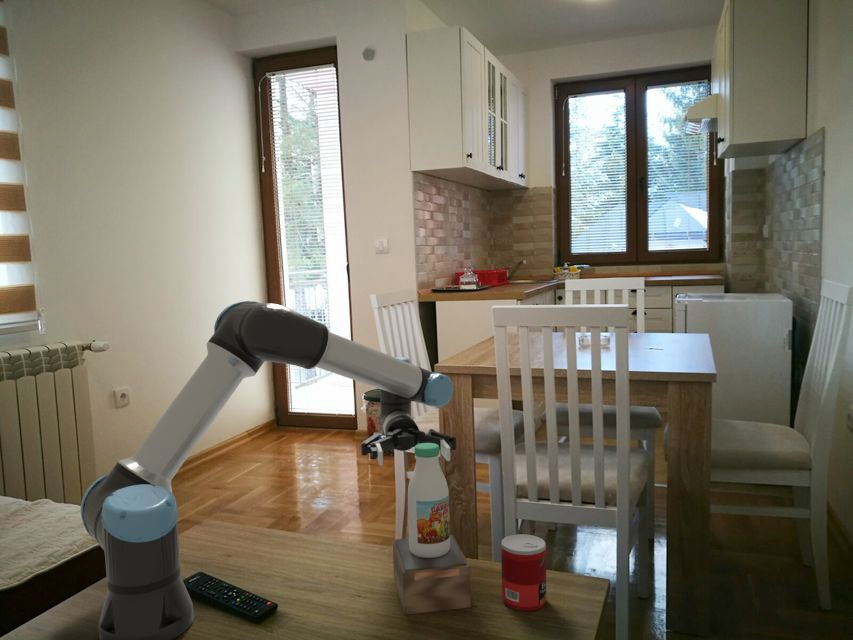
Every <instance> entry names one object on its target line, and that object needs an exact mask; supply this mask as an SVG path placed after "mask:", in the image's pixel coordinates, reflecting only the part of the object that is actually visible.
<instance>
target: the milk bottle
mask: <svg viewBox="0 0 853 640" xmlns="http://www.w3.org/2000/svg"><path fill="white" fill-rule="evenodd" d="M440 453H441V450H439V445H437V444H434V443H421V444H419V443H418V445H416V446H415V447H414V459H415V466H414V470H413V471H412V474H411V476H410V479H409V481H408V487H407V525H408V526H407V528H408V532H407V533H408V538H409V550H410V552H411V553H412V554H413V555H415V556H417V557H421V558H436V557H440V556H443V555H445V554H447V553H448V551H449V549H450V534H451V526H450V525H451V524H450V522H451V521H450V520H451V519H450V496H449V495H450V494H449V487H448V486H449V485H448V482H447V479H446V477H445V475H444V473H443V471H442V468H441V465H440V461H439V458H440V456H441V455H440Z"/></svg>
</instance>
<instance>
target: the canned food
mask: <svg viewBox="0 0 853 640" xmlns="http://www.w3.org/2000/svg"><path fill="white" fill-rule="evenodd" d="M546 545H547V544H546V542H545V540H544V539H542V538H541V537H539V536H536V535H532V534H524V533H523V534H521V533H520V534H512V535H508V536H505V537H504V538H502V539H501V545H500V547H501V548H500V549H501V550H500V553H501V555H500V557H501V558H500V559H501V561H500V563H501V564H500V565H501V598H502V599H503V600H502V601H503V602H504V604H505V605H506V606H508V607H509V608H511V609H513V610H517V611H521V612H522V611H524V612H530V611H535V610H539V609H541V608H543V606H545V604H546V601H547V546H546Z"/></svg>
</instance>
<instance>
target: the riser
mask: <svg viewBox="0 0 853 640" xmlns="http://www.w3.org/2000/svg"><path fill="white" fill-rule="evenodd" d="M392 553H393V555H392V556H393V557H392V560H393V563H392V564H393V579H394V583H395V586H396V591H397V594H398V597H399V602H400V605H401V608H402V613H403V615H404V616H405V615H414V614H415V615H416V614H423V613H432V612H440V611H447V610H448V611H449V610H455V609H456V610H459V609H465V608H466V609H467V608H471V607H472V606H471V568H470V567H471V566H470V564H469V561H468V560H467V559H466V557H465V555H464V553H463V551H462V549H461V547H460V545H459V544H458V542H457V540H456V538H455V536H454V534H451V533H450V549H449V551H448V553H447V554H445V555H443V556H440V557H436V558H421V557H417V556H415V555H413V554H412V553H411V552H410V550H409V537H408V538H407V537H406V538H400V539H394V540H392Z"/></svg>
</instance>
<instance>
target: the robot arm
mask: <svg viewBox="0 0 853 640" xmlns="http://www.w3.org/2000/svg"><path fill="white" fill-rule="evenodd" d="M213 329H214V331H213V334H212V335H211V337H210V338H209V340H207V342H206V350H207V351H206V352H207V355H206V356H205V357H204V360H202V362H201V363H200V364H199V366H198V367H197V369H196V370H195V371H194V373H193V374H192V375H191V377H190V378H189V380H188V381H187V382H186V384H184V386H183V387H182V389H181V390H180V391H179V393H178V394H177V396H175V398H174V400H172V402H171V404H170V405H169V406H168V407H167V409H166V410H165V412H164V413H163V415H162V416H161V417H160V419H159V420H158V421H157V423H156V424H155V425H154V426H153V428H152V430H151V431H150V432H149V433H148V434H147V436H146V438H145V439H143V441H142V443H141V444H140V445H139V447H138V448H137V450H136V451H135V453H134V454H133V455H132V456H131V457H127V458H123V459H119V460H118V461H117V463H116V464H115V465H114V467H113V468H112V469H111V471H110V472H108V474H106V475H104V476H101V477H100V478H97V479H96V480H95V481H93V482H92V483H91V485H90V486H89V487H88V488H87V489H86V491H85V492H84V494H83V496H82V500H81V503H80V516H81V520H82V522H83V526H84V528H85V530H86V532H87V533H88V534H89V535H90V537H92V538H93V539H94V540H95V541H96V543H97V544H98V545H99V547H101V549H102V550H103V551H104V558H105V571H106V572H105V573H106V583H107V587H106V588H107V590H106V591H107V592H106V595H105V596H106V597H105V599H104V603H103V606H102V611H101V614H100V617H99V621H98V638H99V639H98V640H174V639H176V638H177V637H179V636H181V635H182V634H184V633H185V632H186V631H187V630H188V629H189V628H190V627H191V625H192V624H193V622H194V618H195V615H194V605H193V601H192V598H191V596H190V593H189V592H188V590H187V588H186V585H185V583H184V580H183V578H182V575H181V561H180V541H179V525H178V524H179V522H178V519H179V510H178V505H177V501H176V497H175V495H174V493H173V488H172V480H173V478H174V477H175V475H176V474H177V473H178V471H179V470H180V468H181V467H182V466H183V464H184V463H185V462H186V460H187V459H188V458H189V456H190V454H191V453H192V452H193V450H194V448H196V446H197V444H198V443H199V442H200V440H201V439H202V438H203V436H204V434H206V432H207V430H208V429H209V428H210V426H211V425H212V424H213V423H214V421H215V419H216V418H217V416H218V415H219V414H220V412H221V411H222V410H223V408H224V406H225V405H226V404H227V402H229V399H230V398H231V396H232V395H233V394H234V392H235V391H236V390H237V389H238V387H239V386H240V385H241V383H242V381H243V380H244V379H246V378H250V377H255V375H256V374H257V372H258V371H259V370H260V369H261V367H262V366H263V365H264V363H265V362H268V363H269V362H270V363H277V364H278V363H279V364H284V365H285V364H286V365H291V366H296V367H300V368H303V369H305V370H312V369H315V368H318V369H321V370H324V371H327V372H330V373H333V374H336V375H338V376H341V377H344V378H348V379H350V380H353V381H355V382H359V383H362V384H365V385H368V386H371V387H373V388H376V389H379V391H380V392H379V394H380V403H379V405H380V408H379V410H380V412H379V415H378V418H379V420H378V421H379V422H378V423H379V426H380V428H381V429H382V431H383V433H384V435H382V433H380V432H378V431H375V432H374V433H373V435H371V436H370V437H369V438H367V439H365V440H363V442H361V443H360V444H361V445H360V448H361V455H362V456H367V455H369V454H370V460H377V462H378V466H384V452H387V451H389V450H393V451H394V450H396V451H401V452H405V451H409V450H411V449H412V448H415V446H416V445H418V444H421V443H434V444H437V445H439V450H440V454H441V455H442V457H443V458H444V459H445V461H446V462H450V461H451V454H452V453H453V451H456V450H457V437H456V436H455V437H454V436H452V435H448V434H445V433H442V432H440V431H437V430H436V429H432V428H431V429H429V430H428V432H424V431H422V430H420V428H419V426H418V425H417V423H416V421H415V420H414V418H413V417H412V402H415V403H418V404H422V405H426V406H429V407H432V408H433V407H436V408H441V407H444V406H446V405H447V404H449V402H450V401H451V400H452V397H453V393H454V384H453V381H452V379H451V378H450V377H449V376H448V375H446V374H442V373H440V372H433V371H430V370H428V369H425V368H423V367H419V366H417V365H415V364H412V363H411V360H410V359H409V358H408V357H402V356H391V355H389V354H387V353H384V352H382V351H379V350H378V349H374V348H371V347H369V346H367V345H364V344H361V343H359V342H356V341H353V340H352V339H349V338H346V337H343V336H341V335H338V334H336V333H333V332H331V331H330V329H329V327H328V326H327V325H326V324H324V323H321V322H320V321H317V320H314V319H312V318H310V317H308V316H306V315H303V314H301V313H299V312H297V311H295V310H294V309H291V308H289V307H286V306H285V305H282V304H277V303H272V302H270V303H269V302H258V301H254V300H243V301H238V302H235V303H232V304H230V305H229V306H227V307H225V308H224V309H223V310H222V311H221V312H220V314H218V316H217V317H216V319H215V323H214V328H213Z"/></svg>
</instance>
